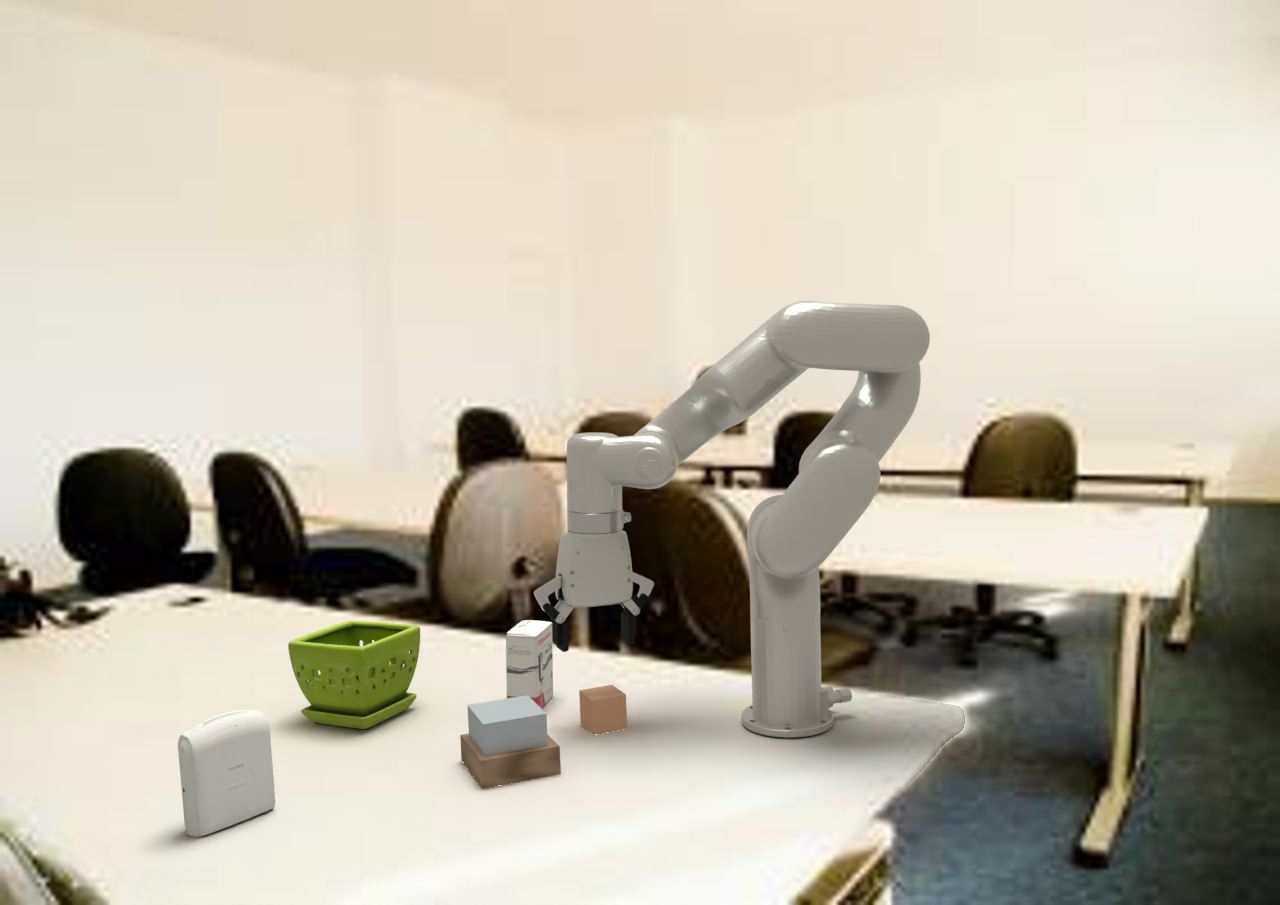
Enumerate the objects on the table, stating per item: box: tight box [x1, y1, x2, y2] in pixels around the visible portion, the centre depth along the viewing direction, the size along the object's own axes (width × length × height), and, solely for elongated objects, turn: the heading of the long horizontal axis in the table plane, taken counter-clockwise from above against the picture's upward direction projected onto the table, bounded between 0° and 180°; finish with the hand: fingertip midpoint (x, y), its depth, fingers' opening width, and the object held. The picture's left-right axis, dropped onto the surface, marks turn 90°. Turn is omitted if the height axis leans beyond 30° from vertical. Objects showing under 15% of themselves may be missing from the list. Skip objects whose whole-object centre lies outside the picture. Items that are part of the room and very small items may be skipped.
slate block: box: [467, 695, 548, 756], centre depth 134 cm, size 8×8×4 cm
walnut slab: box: [459, 732, 562, 790], centre depth 134 cm, size 10×10×4 cm
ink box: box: [505, 619, 554, 710], centre depth 158 cm, size 9×5×12 cm, turn 168°
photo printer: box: [177, 709, 276, 838], centre depth 121 cm, size 10×4×12 cm, turn 140°
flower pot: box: [287, 620, 421, 730], centre depth 155 cm, size 14×14×13 cm
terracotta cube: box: [578, 684, 628, 736], centre depth 148 cm, size 5×5×5 cm
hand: (595, 645), depth 147 cm, fingers open, 9 cm apart
